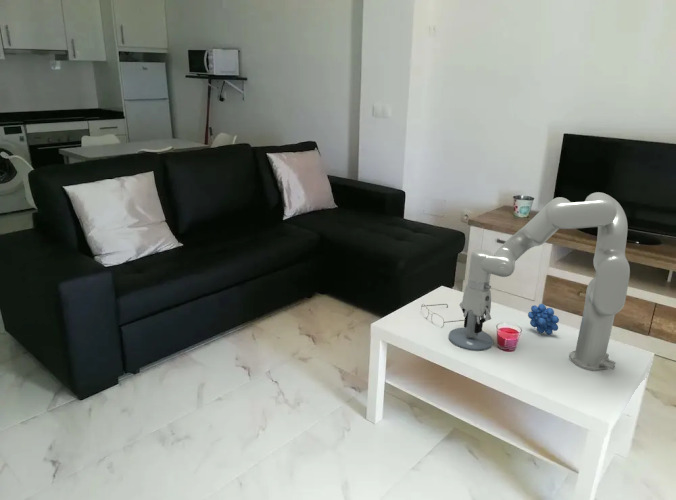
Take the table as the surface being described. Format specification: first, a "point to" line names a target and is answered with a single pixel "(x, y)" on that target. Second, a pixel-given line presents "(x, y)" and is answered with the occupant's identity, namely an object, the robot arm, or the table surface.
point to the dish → (470, 340)
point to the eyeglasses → (437, 314)
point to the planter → (471, 324)
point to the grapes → (543, 319)
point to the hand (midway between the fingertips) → (472, 328)
